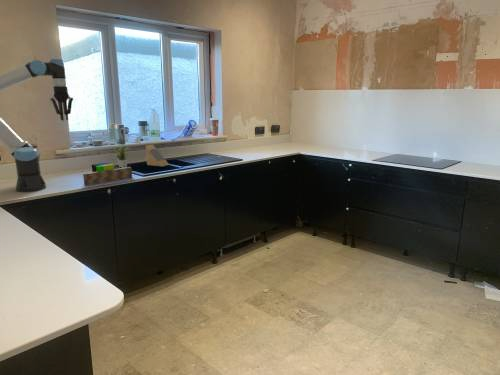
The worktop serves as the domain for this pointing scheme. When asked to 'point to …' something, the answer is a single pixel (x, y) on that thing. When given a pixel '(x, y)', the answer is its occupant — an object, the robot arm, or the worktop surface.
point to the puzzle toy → (102, 167)
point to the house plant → (122, 158)
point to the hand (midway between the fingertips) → (65, 125)
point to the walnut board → (107, 176)
